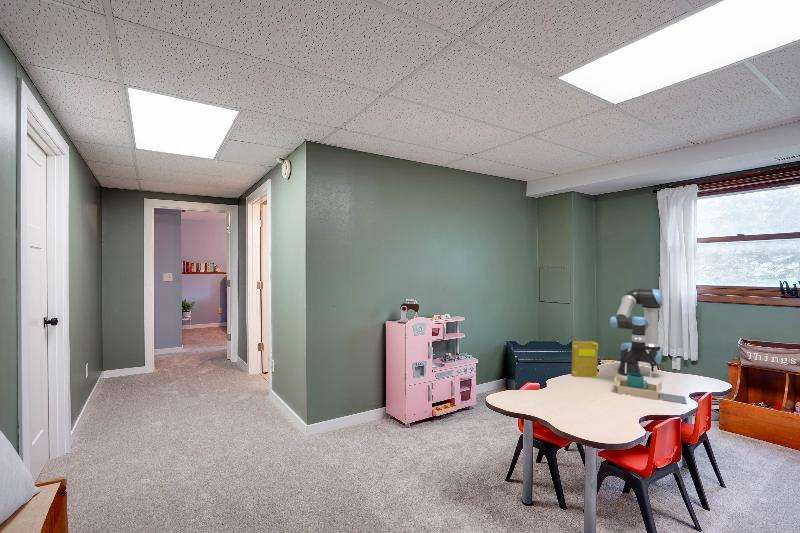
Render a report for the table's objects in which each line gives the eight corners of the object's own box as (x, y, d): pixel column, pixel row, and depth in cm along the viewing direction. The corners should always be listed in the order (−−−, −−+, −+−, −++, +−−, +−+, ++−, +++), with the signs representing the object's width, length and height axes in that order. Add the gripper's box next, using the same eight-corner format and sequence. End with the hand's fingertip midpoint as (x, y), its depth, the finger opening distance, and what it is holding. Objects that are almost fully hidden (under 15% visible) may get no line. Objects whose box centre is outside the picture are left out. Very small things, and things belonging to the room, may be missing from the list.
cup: (646, 397, 248) (646, 379, 248) (625, 392, 256) (625, 374, 256) (650, 393, 254) (650, 376, 254) (629, 389, 263) (629, 372, 263)
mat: (661, 393, 255) (661, 393, 255) (684, 397, 248) (684, 396, 248) (662, 400, 242) (662, 399, 242) (686, 404, 236) (686, 403, 236)
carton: (615, 386, 270) (615, 374, 269) (661, 393, 256) (661, 380, 256) (613, 393, 255) (614, 380, 255) (662, 400, 241) (662, 387, 241)
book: (594, 375, 296) (594, 341, 296) (597, 377, 290) (598, 343, 289) (570, 374, 298) (570, 340, 298) (573, 376, 291) (573, 342, 291)
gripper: (615, 340, 258) (615, 372, 258) (662, 344, 245) (661, 379, 245) (616, 338, 265) (616, 370, 265) (661, 342, 252) (661, 376, 252)
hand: (637, 374), depth 255 cm, fingers open, 13 cm apart
